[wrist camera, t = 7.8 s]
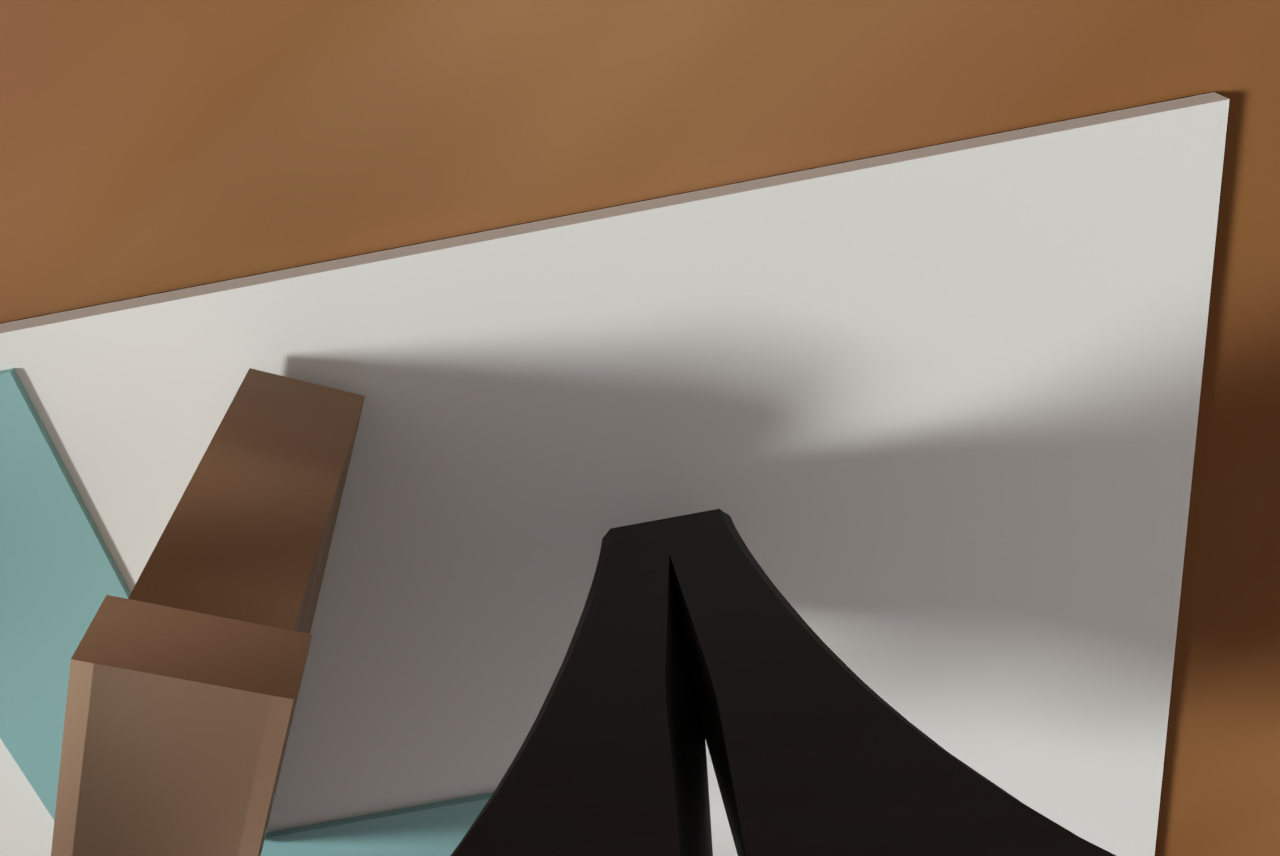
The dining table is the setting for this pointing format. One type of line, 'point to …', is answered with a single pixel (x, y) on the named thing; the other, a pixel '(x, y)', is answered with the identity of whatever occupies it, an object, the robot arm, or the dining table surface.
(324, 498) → the fence panel
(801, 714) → the robot arm
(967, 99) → the dining table surface
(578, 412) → the card
